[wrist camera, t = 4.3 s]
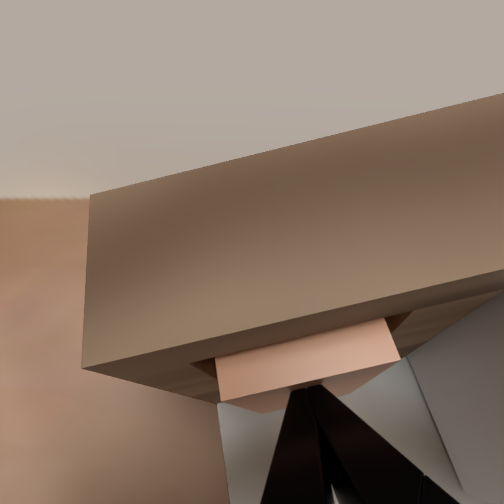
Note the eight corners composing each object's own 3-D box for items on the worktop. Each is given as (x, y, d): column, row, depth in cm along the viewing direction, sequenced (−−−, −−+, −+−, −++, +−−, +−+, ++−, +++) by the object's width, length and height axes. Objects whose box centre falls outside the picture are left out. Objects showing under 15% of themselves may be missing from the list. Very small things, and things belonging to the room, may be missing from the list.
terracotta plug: (349, 393, 15) (401, 359, 7) (261, 414, 15) (220, 401, 7) (311, 273, 17) (319, 159, 10) (238, 290, 18) (191, 190, 10)
